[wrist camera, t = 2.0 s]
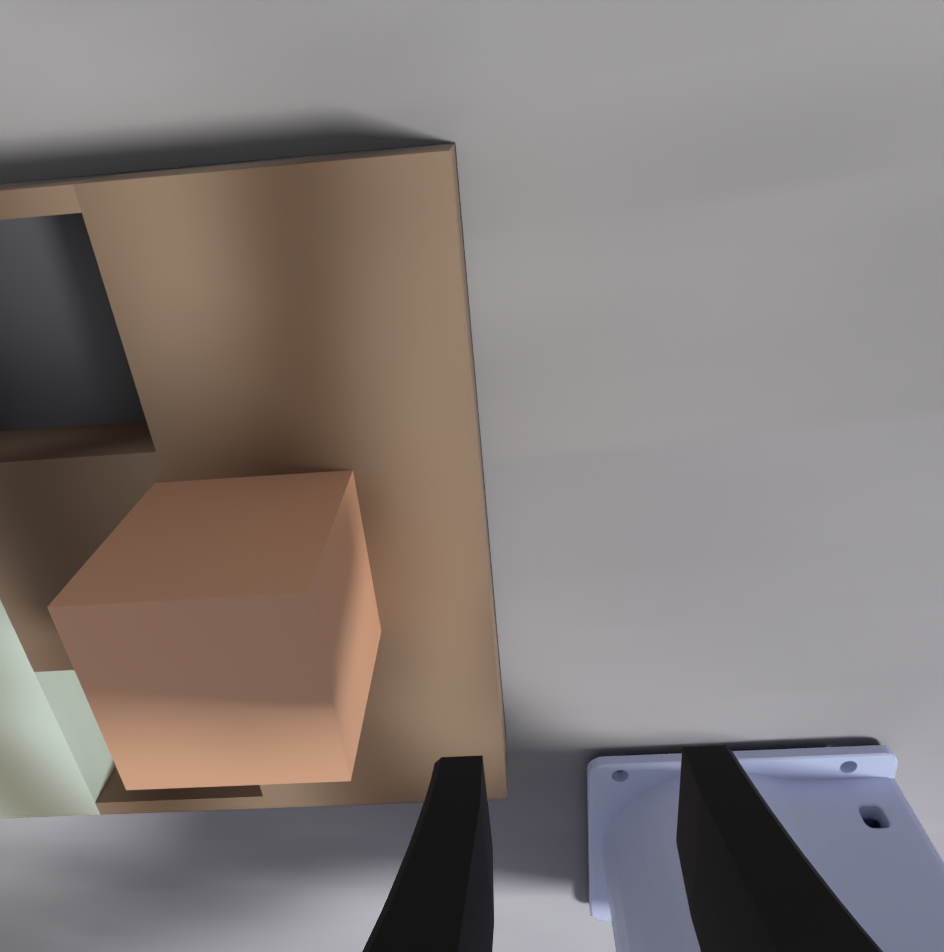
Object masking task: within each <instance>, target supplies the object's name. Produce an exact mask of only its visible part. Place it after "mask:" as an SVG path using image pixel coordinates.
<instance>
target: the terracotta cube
mask: <svg viewBox="0 0 944 952" xmlns="http://www.w3.org/2000/svg"><path fill="white" fill-rule="evenodd" d="M47 608H48V610H49V613H50V615H51V617H52V620H53V622H54V624H55V627H56V629H57V631H58V634H59V636H60V638H61V640H62V643H63V645H64V647H65V650H66V652H67V654H68V657H69V659H70V661H71V664H72V666H73V668H74V671H75V673H76V675H77V677H78V680H79V682H80V684H81V687H82V689H83V691H84V694H85V696H86V698H87V701H88V703H89V705H90V708H91V710H92V712H93V715H94V717H95V719H96V721H97V724H98V726H99V728H100V731H101V733H102V735H103V738H104V740H105V742H106V745H107V747H108V749H109V752H110V754H111V756H112V758H113V761H114V763H115V765H116V768H117V770H118V772H119V775H120V777H121V779H122V782H123V784H124V786H125V789H126V790H143V789H168V788H193V787H218V786H243V785H268V784H293V783H318V782H343V781H351V778H352V773H353V768H354V763H355V758H356V753H357V748H358V743H359V738H360V733H361V728H362V724H363V719H364V714H365V709H366V704H367V699H368V694H369V689H370V684H371V679H372V674H373V670H374V665H375V660H376V655H377V650H378V645H379V640H380V635H381V626H380V621H379V615H378V609H377V604H376V598H375V592H374V587H373V581H372V576H371V570H370V564H369V559H368V553H367V547H366V542H365V536H364V530H363V525H362V519H361V513H360V508H359V502H358V496H357V491H356V485H355V479H354V474H353V470H346V471H331V472H315V473H300V474H284V475H269V476H253V477H238V478H223V479H207V480H192V481H176V482H161V483H154V484H153V485H152V487H151V488H150V489H149V490H148V491H147V492H146V493H145V495H144V496H143V497H142V498H141V499H140V500H139V502H138V503H137V504H136V505H135V506H134V507H133V508H132V510H131V511H130V512H129V513H128V514H127V515H126V517H125V518H124V519H123V520H122V521H121V522H120V524H119V525H118V526H117V527H116V528H115V529H114V530H113V532H112V533H111V534H110V535H109V536H108V537H107V539H106V540H105V541H104V542H103V543H102V544H101V545H100V547H99V548H98V549H97V550H96V551H95V552H94V554H93V555H92V556H91V557H90V558H89V559H88V560H87V562H86V563H85V564H84V565H83V566H82V567H81V569H80V570H79V571H78V572H77V573H76V574H75V576H74V577H73V578H72V579H71V580H70V581H69V582H68V584H67V585H66V586H65V587H64V588H63V589H62V591H61V592H60V593H59V594H58V595H57V596H56V597H55V599H54V600H53V601H52V602H51V603H50V604H49V606H48V607H47Z"/></svg>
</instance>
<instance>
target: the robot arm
mask: <svg viewBox="0 0 944 952" xmlns="http://www.w3.org/2000/svg"><path fill="white" fill-rule="evenodd" d="M897 765H898V759H897V758H896V756H895V755H894V753H893V751H892V750H891V749H890V748H889V747H887V746H881V745H870V746H846V747H822V748H797V749H773V750H749V751H732V750H730V749H729V748H728V747H727V746H725V745H722V746H698V747H682V753H676V754H651V755H627V756H603V757H597V758H595V759H593V760H591V761H590V763H589V764H588V766H587V802H588V861H589V906H590V913H591V916H593V917H594V918H595V919H597V920H601V921H612V926H613V933H614V940H615V947H616V952H944V862H943V860H942V858H941V857H940V855H939V853H938V852H937V850H936V848H935V846H934V845H933V843H932V841H931V840H930V838H929V836H928V835H927V833H926V831H925V830H924V828H923V826H922V824H921V823H920V821H919V819H918V818H917V816H916V814H915V813H914V811H913V809H912V808H911V806H910V804H909V802H908V801H907V799H906V797H905V796H904V794H903V792H902V791H901V789H900V787H899V785H898V784H897V782H896V780H895V779H894V776H895V772H896V769H897ZM619 770H623V771H620V772H616V771H619ZM493 929H494V897H493V849H492V838H491V829H490V820H489V811H488V801H487V792H486V783H485V773H484V764H483V755H482V756H457V757H441V758H440V759H439V760H438V761H436V762H435V764H434V768H433V772H432V776H431V780H430V784H429V787H428V791H427V794H426V798H425V801H424V804H423V807H422V810H421V813H420V816H419V819H418V822H417V825H416V827H415V830H414V833H413V836H412V838H411V841H410V844H409V847H408V849H407V852H406V854H405V857H404V859H403V861H402V864H401V866H400V869H399V871H398V874H397V876H396V878H395V881H394V883H393V886H392V888H391V891H390V893H389V896H388V898H387V900H386V902H385V905H384V907H383V909H382V911H381V914H380V916H379V918H378V920H377V922H376V924H375V926H374V928H373V931H372V933H371V935H370V937H369V939H368V941H367V943H366V945H365V947H364V950H363V952H492V945H493Z"/></svg>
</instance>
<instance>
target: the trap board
mask: <svg viewBox="0 0 944 952" xmlns="http://www.w3.org/2000/svg"><path fill="white" fill-rule="evenodd" d="M346 470H353V474H354V479H355V485H356V491H357V496H358V502H359V508H360V513H361V519H362V525H363V530H364V536H365V542H366V547H367V553H368V559H369V564H370V570H371V576H372V581H373V587H374V592H375V598H376V604H377V609H378V615H379V621H380V626H381V635H380V640H379V645H378V650H377V655H376V660H375V665H374V670H373V674H372V679H371V684H370V689H369V694H368V699H367V704H366V709H365V714H364V719H363V724H362V728H361V733H360V738H359V743H358V748H357V753H356V758H355V763H354V768H353V773H352V778H351V781H343V782H318V783H293V784H268V785H243V786H218V787H193V788H168V789H143V790H126V789H125V786H124V784H123V782H122V779H121V777H120V775H119V772H118V770H117V768H116V765H115V763H114V761H113V758H112V756H111V754H110V752H109V749H108V747H107V745H106V742H105V740H104V738H103V735H102V733H101V731H100V728H99V726H98V724H97V721H96V719H95V717H94V715H93V712H92V710H91V708H90V705H89V703H88V701H87V698H86V696H85V694H84V691H83V689H82V687H81V684H80V682H79V680H78V677H77V675H76V673H75V671H74V668H73V666H72V664H71V661H70V659H69V657H68V654H67V652H66V650H65V647H64V645H63V643H62V640H61V638H60V636H59V634H58V631H57V629H56V627H55V624H54V622H53V620H52V617H51V615H50V613H49V610H48V608H47V607H48V606H49V604H50V603H51V602H52V601H53V600H54V599H55V597H56V596H57V595H58V594H59V593H60V592H61V591H62V589H63V588H64V587H65V586H66V585H67V584H68V582H69V581H70V580H71V579H72V578H73V577H74V576H75V574H76V573H77V572H78V571H79V570H80V569H81V567H82V566H83V565H84V564H85V563H86V562H87V560H88V559H89V558H90V557H91V556H92V555H93V554H94V552H95V551H96V550H97V549H98V548H99V547H100V545H101V544H102V543H103V542H104V541H105V540H106V539H107V537H108V536H109V535H110V534H111V533H112V532H113V530H114V529H115V528H116V527H117V526H118V525H119V524H120V522H121V521H122V520H123V519H124V518H125V517H126V515H127V514H128V513H129V512H130V511H131V510H132V508H133V507H134V506H135V505H136V504H137V503H138V502H139V500H140V499H141V498H142V497H143V496H144V495H145V493H146V492H147V491H148V490H149V489H150V488H151V487H152V485H153V484H154V483H161V482H176V481H192V480H207V479H223V478H238V477H253V476H269V475H284V474H300V473H315V472H331V471H346ZM482 755H483V764H484V773H485V783H486V792H487V800H497V799H507V764H506V729H505V717H504V706H503V694H502V682H501V671H500V659H499V647H498V636H497V624H496V612H495V601H494V589H493V577H492V566H491V554H490V542H489V531H488V519H487V507H486V496H485V484H484V472H483V461H482V449H481V437H480V426H479V414H478V402H477V391H476V379H475V367H474V356H473V344H472V332H471V321H470V309H469V297H468V286H467V274H466V262H465V251H464V239H463V227H462V216H461V204H460V192H459V181H458V169H457V157H456V146H455V143H444V144H433V145H422V146H411V147H400V148H389V149H378V150H366V151H355V152H344V153H333V154H322V155H311V156H300V157H289V158H278V159H267V160H256V161H245V162H234V163H223V164H212V165H201V166H190V167H179V168H168V169H156V170H145V171H134V172H123V173H112V174H101V175H90V176H79V177H68V178H57V179H46V180H35V181H24V182H13V183H2V184H0V818H24V817H50V816H76V815H103V814H129V813H155V812H181V811H208V810H234V809H260V808H287V807H313V806H339V805H366V804H392V803H418V802H424V801H425V798H426V794H427V791H428V787H429V784H430V780H431V776H432V772H433V768H434V764H435V762H436V761H438V760H439V759H440V758H441V757H457V756H482Z"/></svg>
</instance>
